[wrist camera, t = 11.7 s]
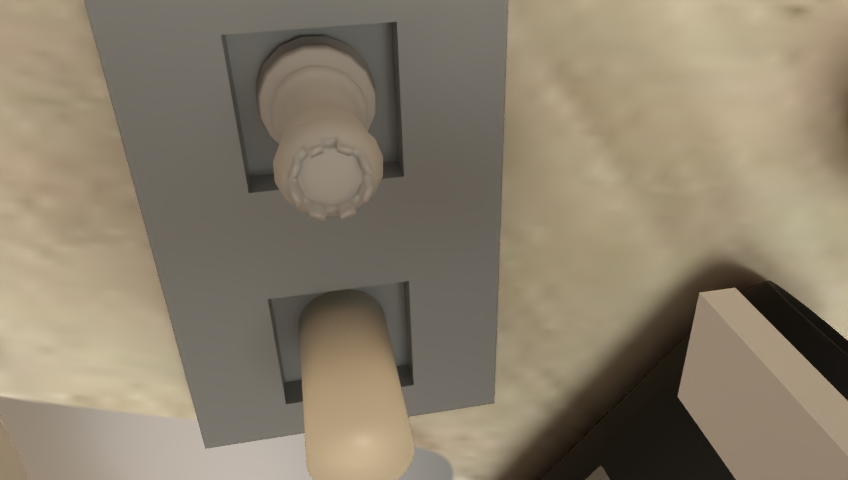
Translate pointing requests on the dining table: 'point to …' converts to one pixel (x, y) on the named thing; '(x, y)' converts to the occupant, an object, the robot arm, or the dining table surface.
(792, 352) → the robot arm
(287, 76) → the rook chess piece
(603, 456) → the portable speaker
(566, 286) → the dining table surface
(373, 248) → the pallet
